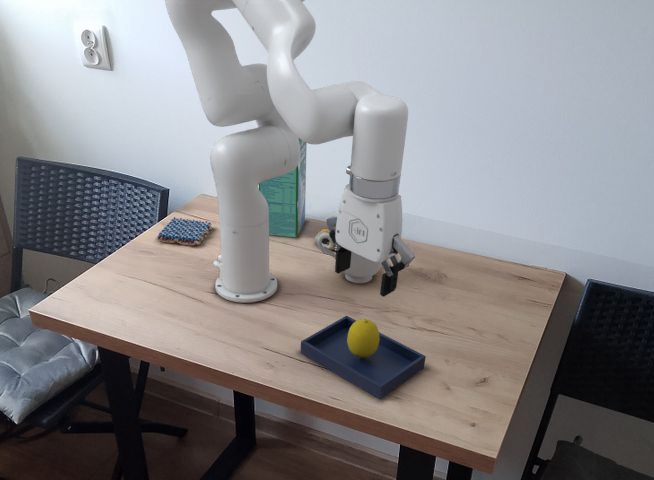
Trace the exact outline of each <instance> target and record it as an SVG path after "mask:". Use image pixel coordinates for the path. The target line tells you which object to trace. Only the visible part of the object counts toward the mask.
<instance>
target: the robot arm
mask: <svg viewBox="0 0 654 480" xmlns="http://www.w3.org/2000/svg"><path fill="white" fill-rule="evenodd" d="M305 1H306V0H164V3H165V8H166V12H167V14H168V18H169V20H170V22H171V24H172V27H173V29H174V30H175V31H174V32H176V34H177V36H178V39H179V41H180V42H181V45H182V47H183V49H184V51H185V54H186V57H187V61H188V64H189V68H190V71H191V75H192V78H193V81H194V85H195V89H196V92H197V94H198V98H199V102H200V105H201V108H202V110H203V113H204V115H205V118H206V119H207V120H208V122H209V123H210V124H211V125H213V126H214V127H218V128H224V127H230V126H231V127H232V126H237V125H242V124H245V123H249V122H252V121H255V122H256V125H257V127H254V128H249V129H245V130H242V131H237V132H234V133H231V134H228V135H225V136H223V137H221V138H220V139H218V140H217V141H215V142H214V144H213V145H212V147H211V149H210V152H209V164H210V168H211V173H212V176H213V181H214V185H215V190H216V197H217V206H218V207H217V208H218V222H219V223H218V225H219V238H220V239H219V241H220V253H219V255H217V260H214V261H213V263H212V267H214V268H216V269H218V270H219V276H218V277H217V278H216V280H215V282H214V283H215V284H214V286H215V291H216V293H217V294H218V295H219V297H221V298H223V299H225V300H227V301H229V302H235V303H245V304H246V303H247V304H249V303H256V302H260V301H265V300H267V299H268V298H270V297H272V296H273V295H274V294H275V293H276V291H277V290H278V279H277V278H276V276H275V275H273V274H272V273H270V235H269V209H268V204H267V201H266V199H265V197H264V196H263V195H262V193H261V192H260V191H259V183H261V182H264V181H266V180H269V179H272V178H276V177H279V176H282V175H285V174H287V173H290V172H292V171H293V170H294V169H295V168H296V167H297V165H298V163H299V161H300V144H299V139H301V140H302V141H304V142H306V143H307V144H308V145H322V144H326V143H329V142H333V141H336V140H340V139H343V138H348V137H349V138H350V137H352V144H351V156H350V165H348V166H347V167H346V169H345V173H346V174H347V175H349V181H348V182H349V183H348V184H346V185H345V186H344V189H343V192H342V194H341V198H340V202H339V205H338V212H337V214H336V215H332V216H330V217H328V218H326V219H325V222H326V224H327V225H326V226H327V228H328V229H329V230H330V232H329V236H330V238H331V239H332V241H333V243H334V245H333V248H334V250H333V251H335V254H336V260H335V262H334V263H335V266H334V273H335V274H341V273H343V271H345V270H347V269H349V268H350V264H351V252H353V253H355V254H358V255H360V256H362V257H364V258H366V259H368V260H370V261H373V262H375V263H381V264H382V265H381V267H382V268H383V270H384V273H382V275H381V280H380V289H379V295H380V296H381V297H383V298H385V297H386V296H387V295H390V294H391V293H393V292H395V291H396V290H397V286H398V278H399V272H402V270H405V269H407V268H409V266H410V264H411V263H412V262H413V261H414V259H415V258H416V254H415V252H413V250H412V249H411V248H410V247H409V246H408V244H407V243H406V242H405V241H404V240H403V239H402V234H403V202H402V196H401V195H400V193H399V192H400V185H401V177H402V167H403V160H404V153H405V144H406V135H407V130H408V129H407V128H408V119H409V108H408V105H407V104H406V102H405V101H404V100H402V99H401V98H398V97H395V96H393V95H387V94H383V93H381V92H380V91H379V90H377V89H376V88H375V87H373V86H372V85H370V84H369V83H366V82H364V81H360V80H352V81H346V82H343V83H338V84H332V85H327V86H322V87H319V88H314V89H311V88H310V86H309V85H308V84H307V82H306V81H305V80H304V78H303V77H302V75H301V74H300V72H299V69H297V67H296V64H295V60H296V59H297V58H298V57H299V56H301V54H302V53H303V52H304V51H305V50H306V49H307V48H308V46H309V45H310V44H311V43H312V40H313V39H314V36H315V34H316V29H317V24H316V19H315V18H314V16H313V15H312V13H311V12H310V10H309V9H308V8H307V7H306V5H305V4H304V2H305ZM234 9H237V10H238V12H239V13H240V14H241V16H242V17H243V19H244V20H245V22H246V23H247V25H248V27H250V29H251V30H252V32H253V33H254V34H255V36H256V37H257V39H258V40H259V42H260V43H261V44H262V46H263V47H264V49H265V50H266V52H267V54H268V57H267V63H252V64H247V65H242V64H241V62H240V60H239V57H238V54H237V49H236V45H235V43H234V40H233V37H232V36H231V34H230V33H229V31H228V30H227V29H226V28H225V26H224V25H223V24H222V23H221V22H220V21H219V20H218V19H216V17H214V16H213V14H212V13H213V12H215V11H223V10H224V11H226V10H234ZM298 138H299V139H298ZM398 254H399V255H400V257H401V258H399V256H398ZM390 261H391V263H390ZM391 264H392V265H391Z"/></svg>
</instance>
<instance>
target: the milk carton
mask: <svg viewBox="0 0 654 480" xmlns="http://www.w3.org/2000/svg"><path fill="white" fill-rule="evenodd" d="M298 139H299V138H298ZM299 144H300V161H299V163H298V165H297V167H296V168H295V169H294V170H293V171H292V172H290V173H287V174H285V175H282V176H279V177H276V178H272V179H269V180H266V181H264V182H261V183H259V184H258V189H259V191H260V192H261V193H262V195H263V196H264V197H265V199H266V201H267V204H268V209H269V236H277V237H278V236H279V237H287V238H296V239H297V238H298V237H299V235H300V233H301V230H302V228H303V227H304V225H305V223H306V193H307V192H306V190H307V187H306V186H307V146H308V145H307V144H308V143H306V142H304V141H302V140H301V139H299Z"/></svg>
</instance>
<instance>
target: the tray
mask: <svg viewBox="0 0 654 480" xmlns="http://www.w3.org/2000/svg"><path fill="white" fill-rule="evenodd" d="M356 321H357V320H356V319H354V318H353V317H350V316H348V315H345V316H343V317H341V318H340V319H338V320H336V321H334V322H333V323H331V324H329V325H327V326H326V327H325V326H324V327H323V328H322V329H320V330H318V331H317V332H314V333H313V334H311V335H309V336H308V337H306V338H304V339H302V340H301V341H300V354H301V355H303V356H305V357H307V358H308V359H310V360H312V361H313V362H315V363H317V364H319V365H320V366H321V367H324V368H325V369H327V370H328V371H331V372H332V373H334V374H336V375H337V376H339V377H341V378H342V379H344V380H345V381H348V382H350V383H351V384H353V385H355V386H356V387H358V388H359V389H361V390H364V391H365V392H367V393H368V394H370V395H371V396H373V397H375V398H377V399H379V400H381V399H382V398H384V397H385V396H387V395H388V394H390V393H391V392H392V391H394V390H395V389H397V388H398V387H400V386H401V385H402V384H404V383H406V382H407V381H408V380H409V379H411V378H412V377H414V376H415V375H416V374H418V373H419V372H421V371H422V370H423V369H425V365H426V357H427V356H426V355H425V354H422V353H421V352H419V351H417V350H415V349H413V348H410V347H409V346H407V345H406V344H403V343H401V342H400V341H397V340H395V339H393V338H391V337H389V336H387V335H385V334H384V333H381V331H379V337H380V341H379V345H378V348H377V350H376V352H375V353H374V354H373V355H371V356H370V357H366V358H360V357H357V356H355V355H354V354H352V352H351V351H350V350H349V347H348V343H347V337H348V332H349V329H350V327H351V326H352V324H353V323H354V322H356Z"/></svg>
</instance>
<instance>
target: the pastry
mask: <svg viewBox="0 0 654 480" xmlns="http://www.w3.org/2000/svg"><path fill="white" fill-rule="evenodd" d="M329 232H330V230H329V229H328V227H327V228H322V229H320V231H319V232H318V233H317V234H316V236H315V237H314V239H315V242H316V244H317V245H318V243H317V242H318V237H319V236H320V235H321V234H322V233H329ZM321 243H322V245H323V246H324V247H325V248H326V249H328V250H330V251H332V250H333V251H335V250H334V248H333V245H334V243H333V244H331V243H330V240H329V239H328V238H324V239H322V242H321Z"/></svg>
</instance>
